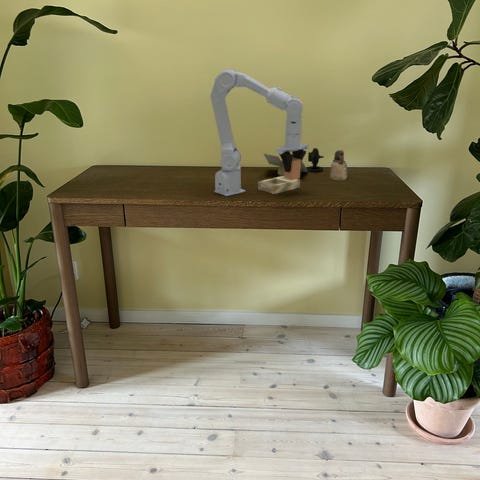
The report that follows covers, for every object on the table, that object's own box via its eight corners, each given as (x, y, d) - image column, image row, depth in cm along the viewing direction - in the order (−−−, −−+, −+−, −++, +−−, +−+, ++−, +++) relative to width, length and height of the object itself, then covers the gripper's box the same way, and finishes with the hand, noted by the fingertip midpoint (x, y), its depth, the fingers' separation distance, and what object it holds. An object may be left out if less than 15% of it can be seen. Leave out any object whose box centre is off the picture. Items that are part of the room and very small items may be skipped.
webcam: (305, 168, 220) (306, 146, 216) (322, 168, 219) (323, 146, 215) (306, 172, 212) (307, 149, 209) (323, 172, 212) (325, 150, 208)
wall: (261, 182, 215) (256, 164, 199) (268, 163, 218) (264, 143, 202) (301, 192, 210) (299, 174, 195) (308, 172, 213) (307, 153, 197)
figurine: (344, 176, 206) (346, 148, 201) (348, 180, 199) (351, 151, 195) (328, 176, 206) (329, 148, 201) (331, 180, 199) (333, 151, 195)
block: (292, 179, 177) (293, 161, 174) (284, 177, 180) (285, 159, 177) (299, 178, 179) (300, 159, 177) (292, 175, 182) (293, 157, 179)
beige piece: (273, 194, 182) (274, 186, 181) (258, 189, 188) (258, 181, 187) (299, 187, 190) (300, 179, 189) (283, 182, 197) (283, 175, 196)
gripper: (286, 137, 166) (285, 176, 171) (315, 132, 175) (313, 169, 180) (272, 134, 172) (271, 172, 177) (301, 130, 180) (299, 166, 185)
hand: (292, 170), depth 179 cm, fingers closed on block, 4 cm apart
